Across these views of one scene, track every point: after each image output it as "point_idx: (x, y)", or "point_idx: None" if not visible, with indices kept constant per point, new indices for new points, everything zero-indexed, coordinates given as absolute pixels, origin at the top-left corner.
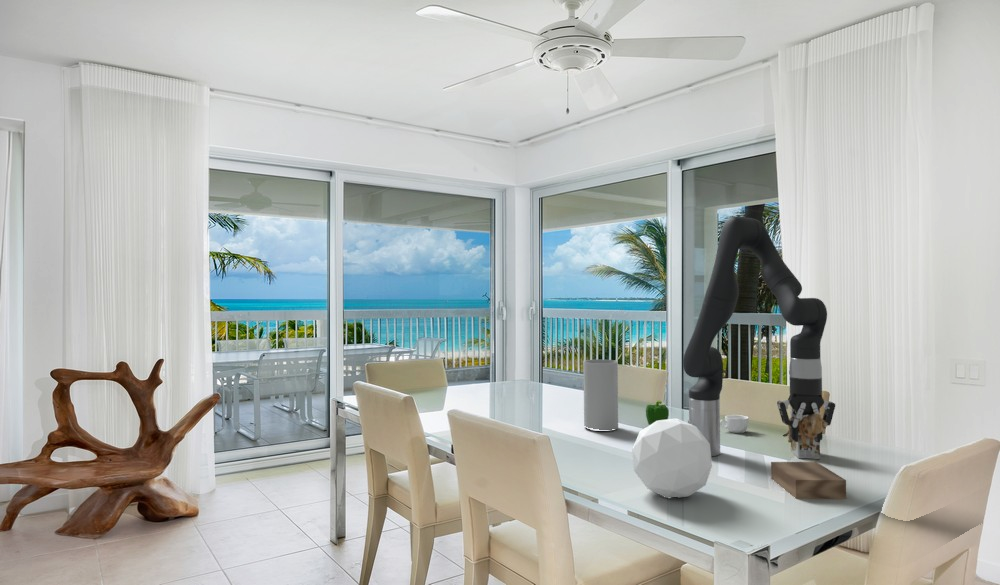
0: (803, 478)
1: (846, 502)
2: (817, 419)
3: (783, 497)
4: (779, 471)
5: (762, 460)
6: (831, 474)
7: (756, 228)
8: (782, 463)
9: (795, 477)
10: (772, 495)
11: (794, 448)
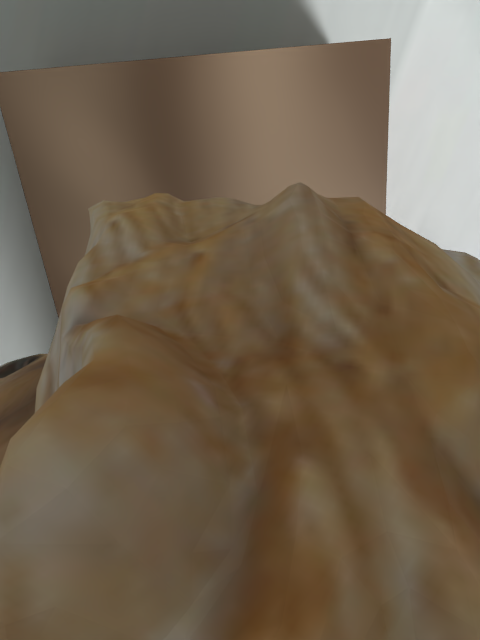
0: (318, 87)
1: (49, 11)
2: (405, 368)
3: (400, 80)
4: None
5: None
6: (76, 229)
7: None
8: None
9: (366, 110)
10: (444, 113)
11: None
